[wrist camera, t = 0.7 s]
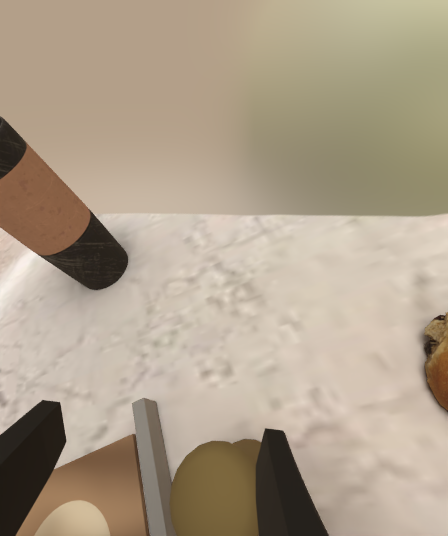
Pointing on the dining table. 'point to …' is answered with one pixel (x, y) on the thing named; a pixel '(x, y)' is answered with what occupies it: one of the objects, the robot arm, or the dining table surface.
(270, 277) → the dining table surface
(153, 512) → the low wall
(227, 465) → the cork
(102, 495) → the walnut board
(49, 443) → the robot arm
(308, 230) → the dining table surface
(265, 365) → the dining table surface
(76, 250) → the travel mug
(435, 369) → the bread roll
